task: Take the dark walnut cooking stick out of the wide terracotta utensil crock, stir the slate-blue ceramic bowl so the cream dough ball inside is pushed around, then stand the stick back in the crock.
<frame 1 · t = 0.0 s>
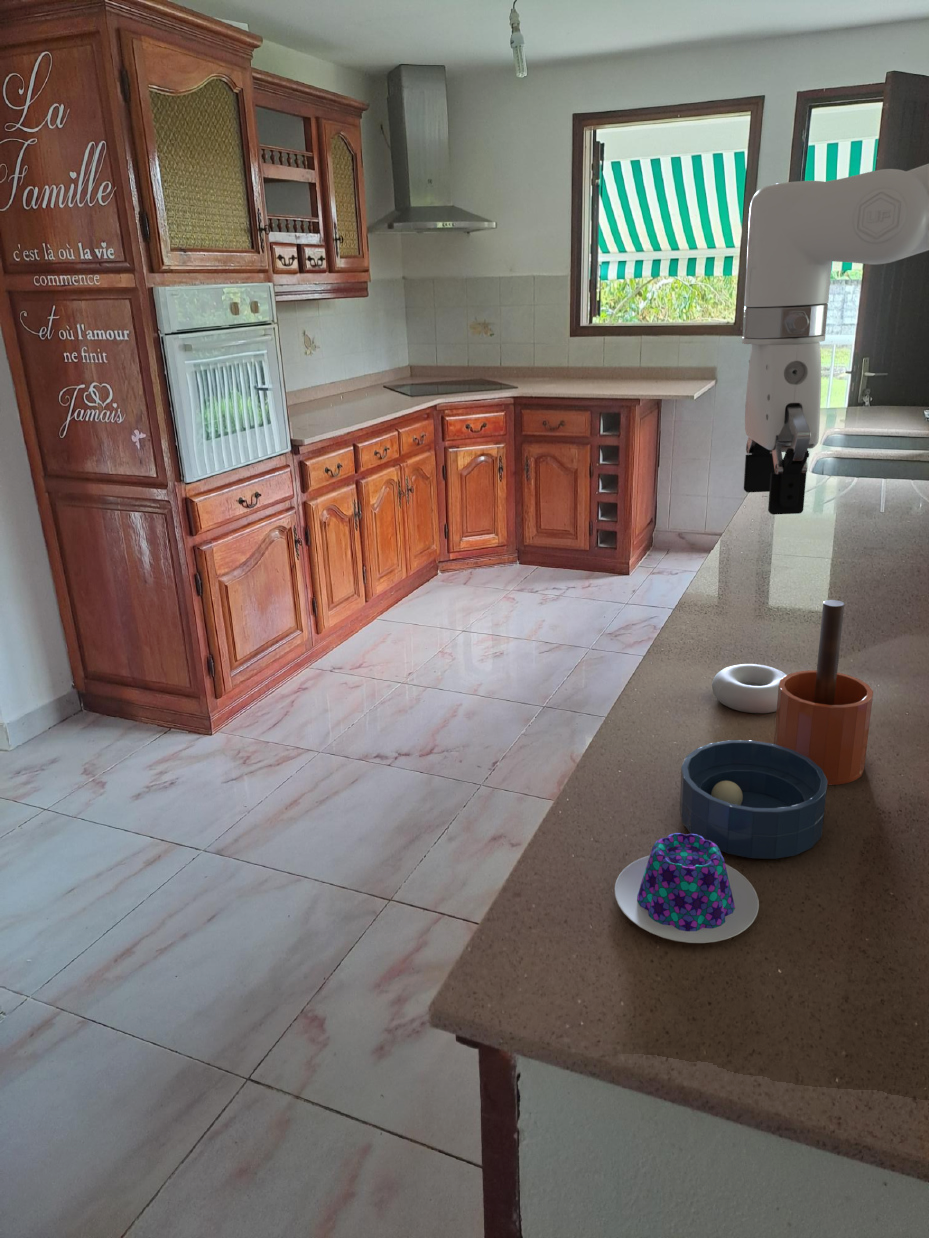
hand: (771, 501, 90), 28 cm above the counter, tool pointing down, fingers open, 9 cm apart
donut: (752, 701, 111), on the counter
pudding: (685, 903, 76), on the counter
bowl: (749, 822, 86), on the counter
dough ball: (726, 796, 87), point 2 cm above the counter, touching bowl
crock: (817, 762, 96), on the counter
stick: (818, 758, 96), resting on crock
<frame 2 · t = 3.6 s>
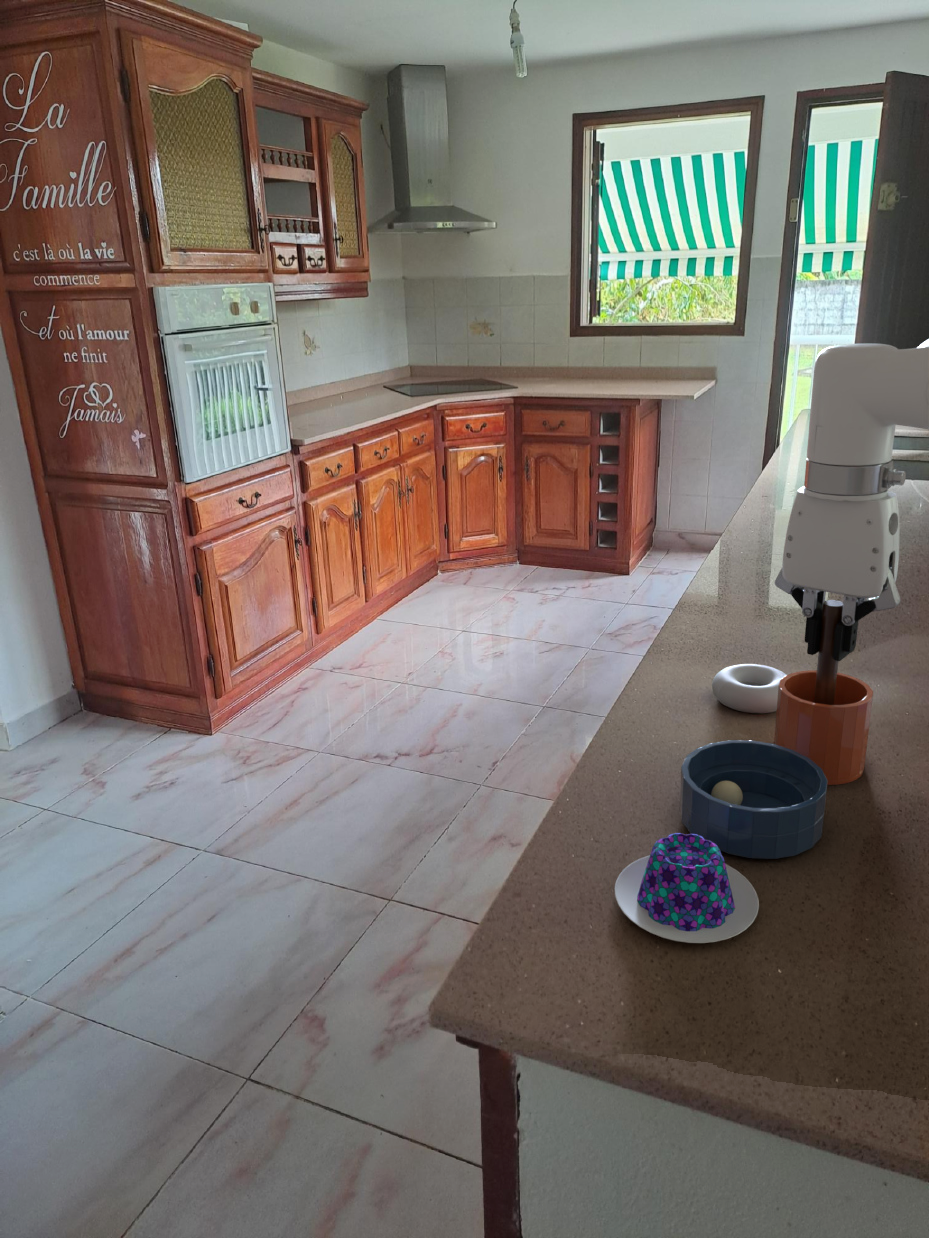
hand: (828, 652, 91), 13 cm above the counter, tool pointing down, fingers closed on stick, 2 cm apart
stick: (818, 758, 96), point 1 cm above the counter, touching crock, gripper
everything else where it was.
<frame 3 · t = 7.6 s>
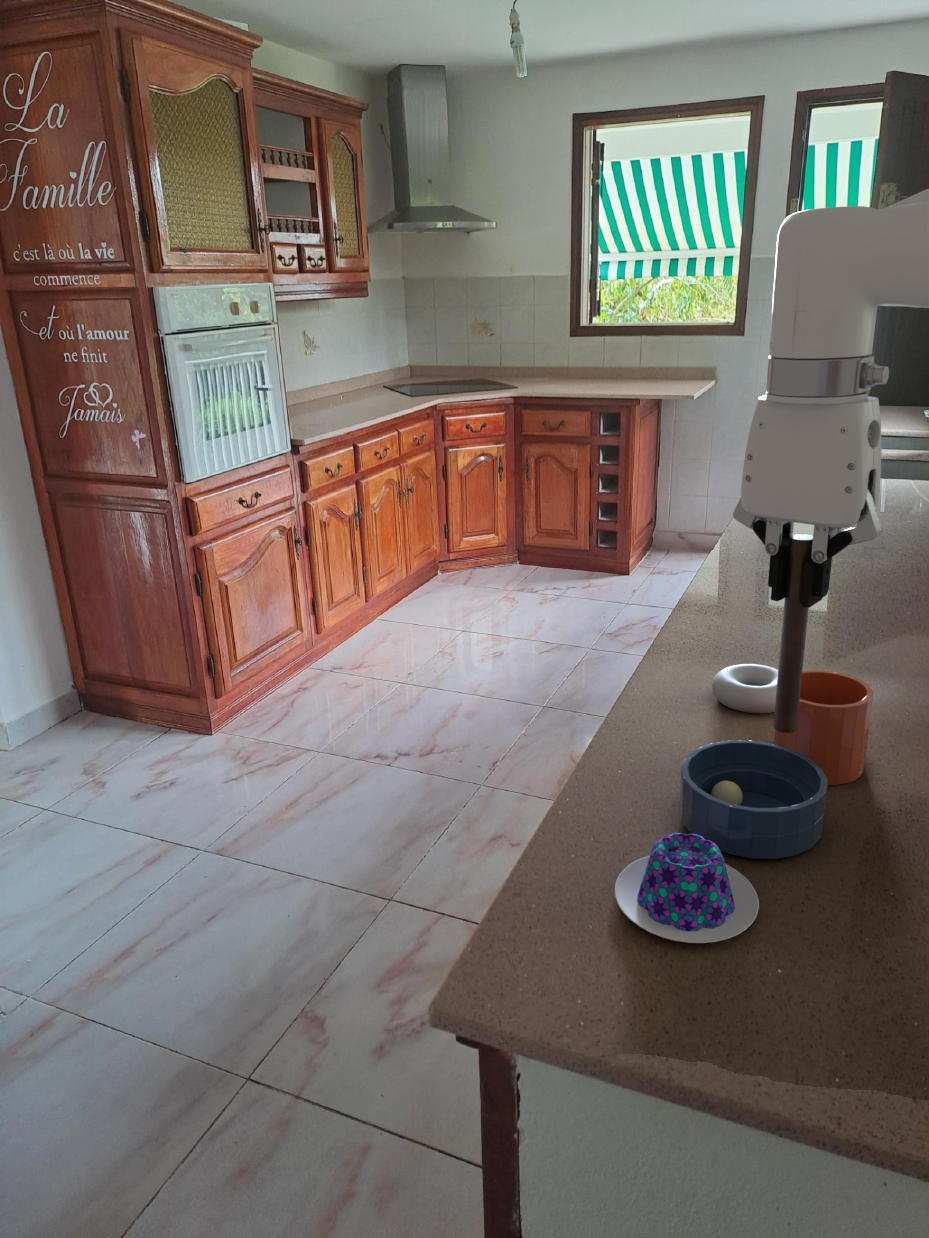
hand: (796, 598, 76), 24 cm above the counter, tool pointing down, fingers closed on stick
stick: (785, 727, 80), point 11 cm above the counter, touching gripper
everything else where it was.
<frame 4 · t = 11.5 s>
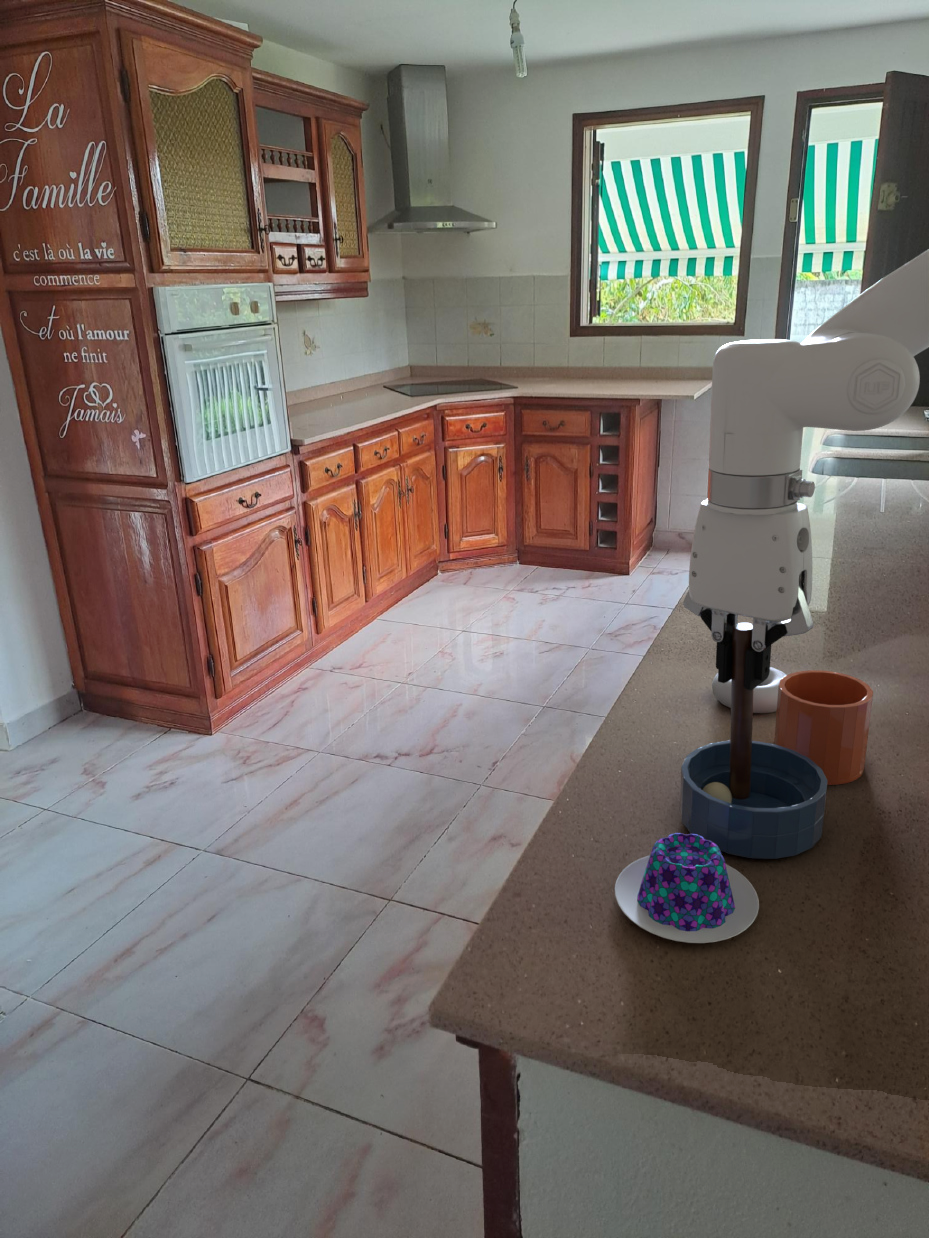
hand: (741, 680, 83), 14 cm above the counter, tool pointing down, fingers closed on stick, 2 cm apart
dough ball: (716, 797, 87), point 2 cm above the counter, tilted 41°, touching bowl, stick
stick: (739, 794, 87), point 2 cm above the counter, touching dough ball, gripper
everything else where it was.
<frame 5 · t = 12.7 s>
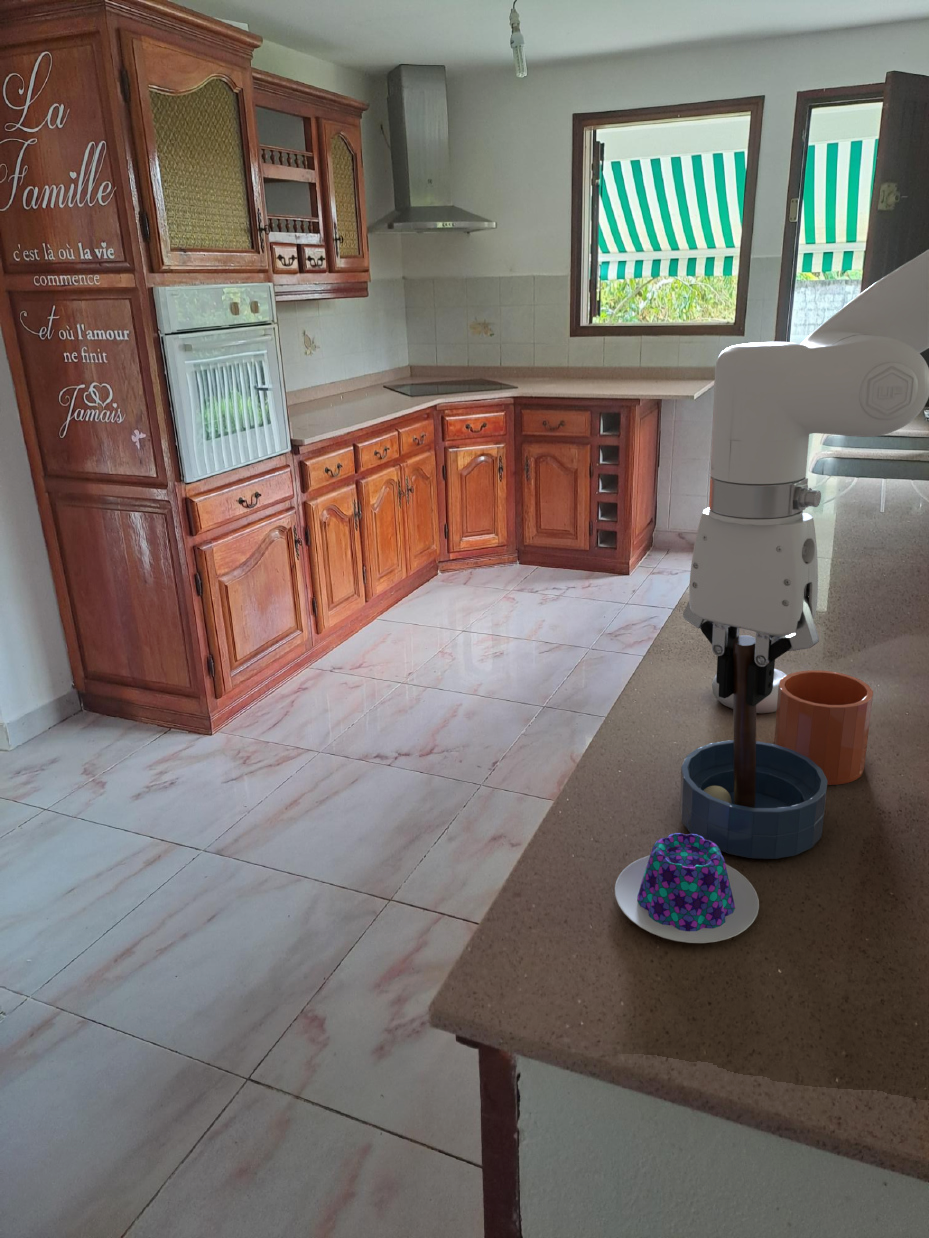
hand: (743, 695, 80), 14 cm above the counter, tool pointing down, fingers closed on stick, 2 cm apart
dough ball: (715, 801, 86), point 2 cm above the counter, tilted 40°, touching bowl
stick: (744, 804, 85), point 2 cm above the counter, tilted 7°, touching gripper
everything else where it was.
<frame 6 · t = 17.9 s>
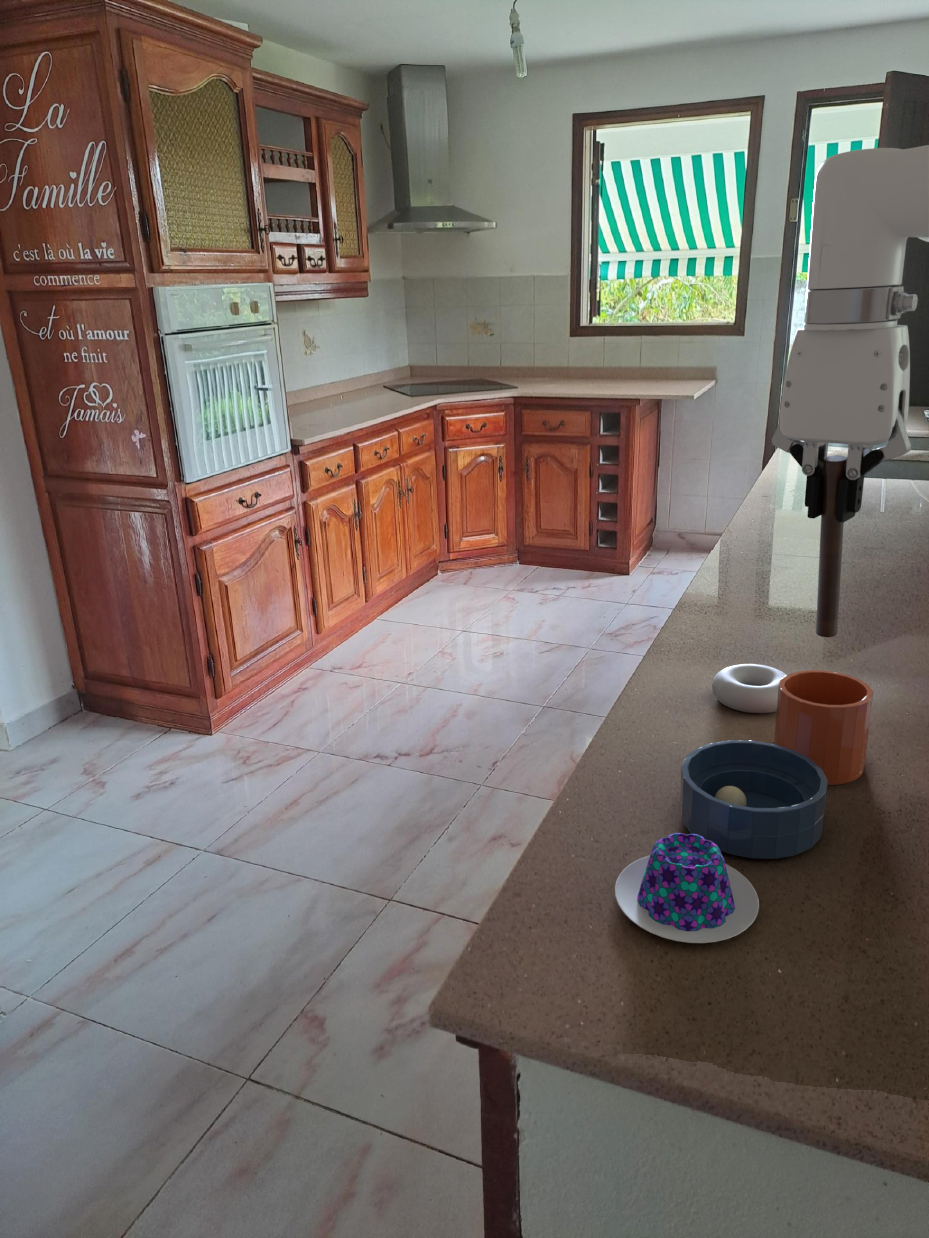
hand: (831, 515, 83), 29 cm above the counter, tool pointing down, fingers closed on stick
dough ball: (730, 801, 86), point 2 cm above the counter, tilted 15°, touching bowl
stick: (826, 633, 88), point 16 cm above the counter, tilted 6°, touching gripper
everything else where it was.
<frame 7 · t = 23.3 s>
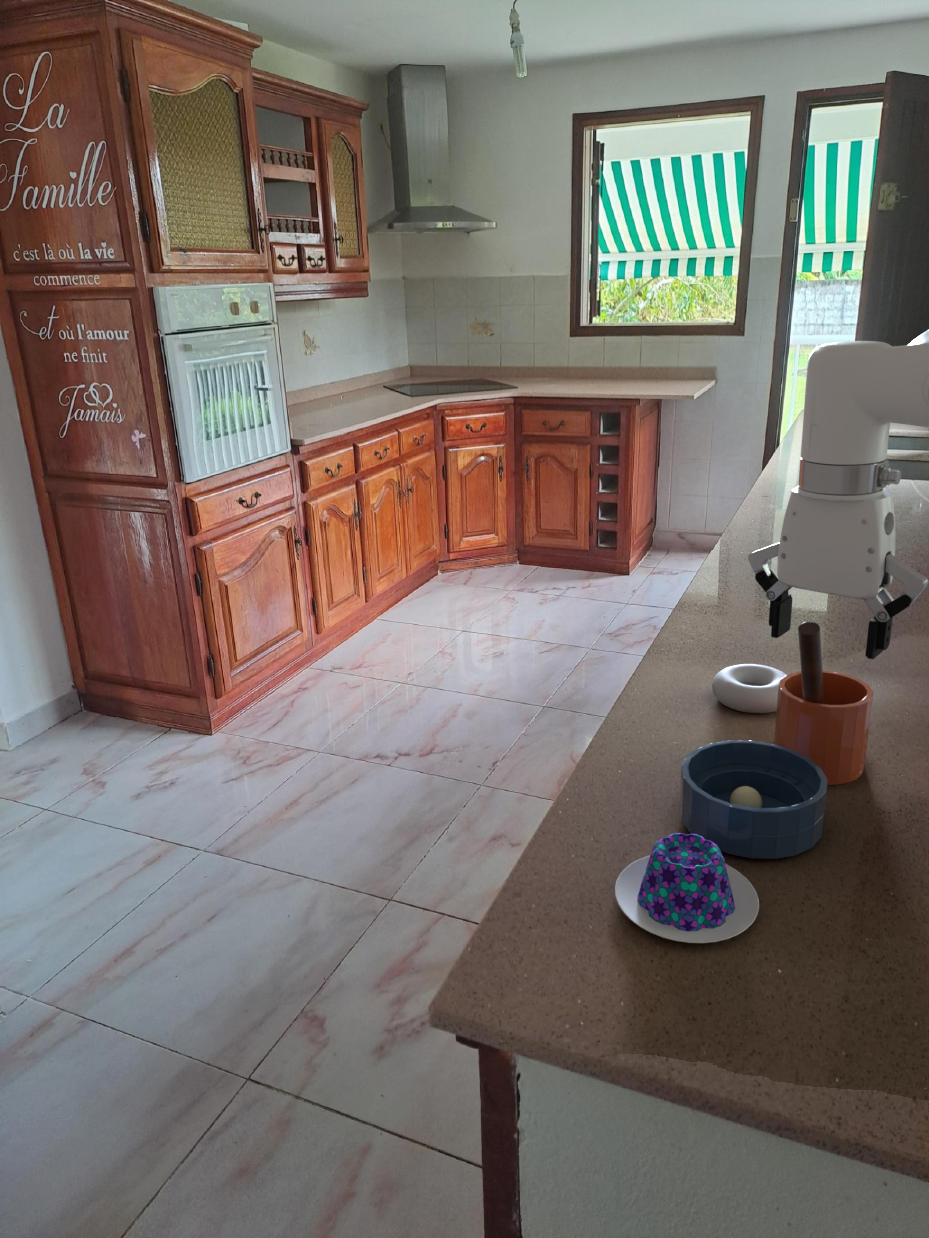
hand: (825, 643, 90), 15 cm above the counter, tool pointing down, fingers open, 9 cm apart
dough ball: (746, 801, 86), point 2 cm above the counter, tilted 71°, touching bowl
stick: (817, 755, 96), point 1 cm above the counter, tilted 20°, touching crock
everything else where it was.
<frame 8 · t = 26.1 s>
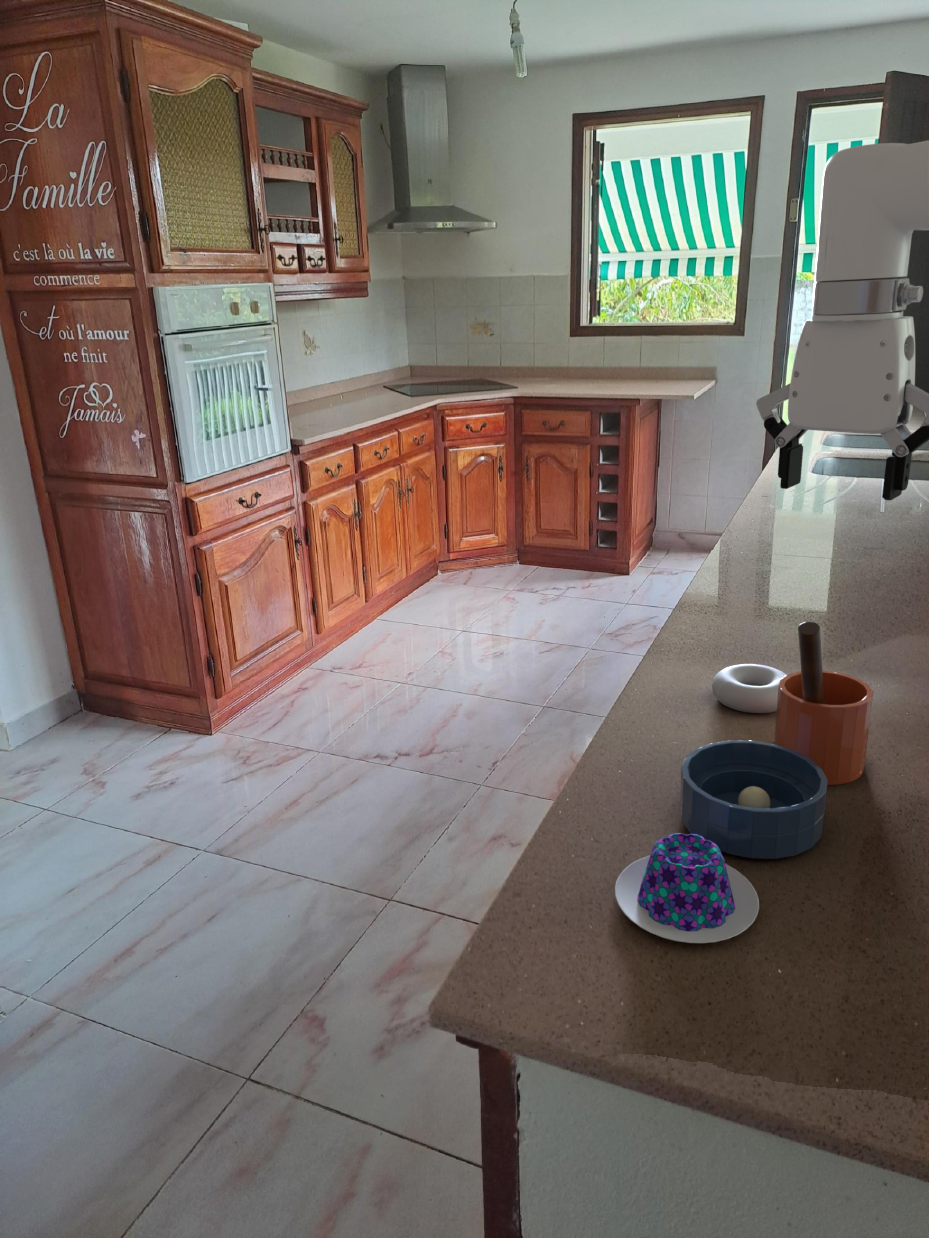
hand: (839, 491, 84), 30 cm above the counter, tool pointing down, fingers open, 9 cm apart
dough ball: (754, 801, 86), point 2 cm above the counter, tilted 100°, touching bowl
everything else where it was.
at the end: dough ball moved 2.7 cm from its start; dough ball inside the target area in the bowl (0.7 cm from its centre), point 2.0 cm above the bowl's base; stick 0.2 cm off-centre in the crock, point 0.8 cm above the crock's base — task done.
